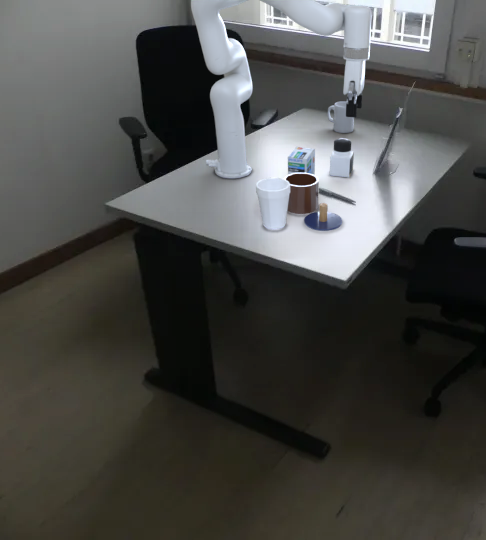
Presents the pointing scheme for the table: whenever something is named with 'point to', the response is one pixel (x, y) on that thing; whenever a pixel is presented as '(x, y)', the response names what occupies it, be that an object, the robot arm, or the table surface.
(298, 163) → the light bulb box
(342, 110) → the mug
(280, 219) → the foam cup
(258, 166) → the table surface
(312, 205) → the brown cup
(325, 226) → the lid
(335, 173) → the medicine bottle
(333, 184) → the table surface
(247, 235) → the table surface
